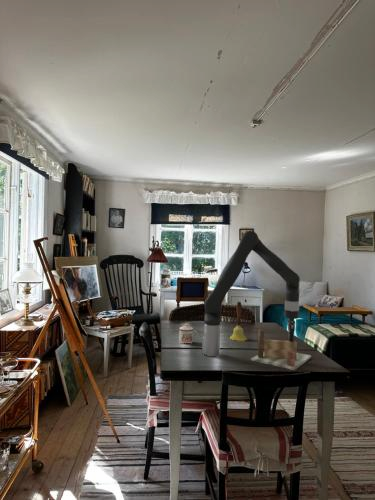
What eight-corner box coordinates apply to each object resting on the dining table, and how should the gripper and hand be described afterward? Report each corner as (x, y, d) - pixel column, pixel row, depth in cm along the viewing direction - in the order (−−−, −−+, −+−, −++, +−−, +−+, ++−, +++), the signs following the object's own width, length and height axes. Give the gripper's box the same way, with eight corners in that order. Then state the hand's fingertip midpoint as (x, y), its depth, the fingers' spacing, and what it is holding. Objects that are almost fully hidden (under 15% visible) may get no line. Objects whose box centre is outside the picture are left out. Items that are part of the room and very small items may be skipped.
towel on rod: (250, 360, 189) (251, 330, 189) (271, 349, 211) (271, 322, 211) (294, 370, 175) (295, 338, 175) (311, 357, 197) (312, 329, 197)
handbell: (248, 337, 238) (249, 301, 238) (245, 342, 227) (246, 303, 227) (231, 335, 242) (232, 300, 242) (227, 340, 231) (228, 302, 231)
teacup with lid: (180, 344, 216) (181, 326, 216) (177, 340, 225) (177, 322, 225) (199, 344, 219) (199, 325, 219) (195, 340, 228) (195, 322, 228)
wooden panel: (264, 357, 190) (265, 329, 190) (264, 355, 193) (264, 328, 193) (296, 359, 188) (297, 331, 188) (295, 357, 191) (296, 330, 191)
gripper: (283, 306, 197) (283, 336, 197) (285, 310, 183) (284, 343, 184) (297, 307, 195) (296, 337, 196) (300, 311, 182) (299, 344, 182)
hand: (290, 340), depth 190 cm, fingers closed on wooden panel, 2 cm apart
